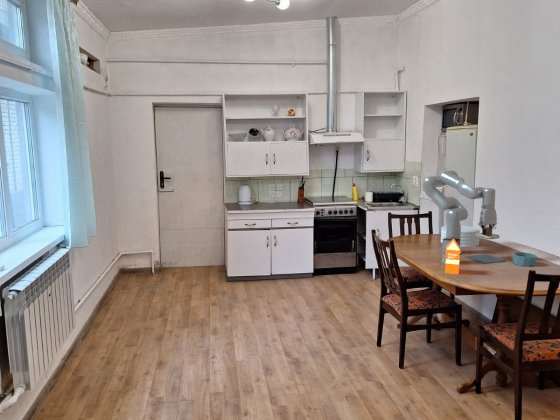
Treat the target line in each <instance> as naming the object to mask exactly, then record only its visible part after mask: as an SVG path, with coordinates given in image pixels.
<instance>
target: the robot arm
mask: <svg viewBox="0 0 560 420" xmlns="http://www.w3.org/2000/svg"><path fill="white" fill-rule="evenodd" d="M446 185H447V186H450V187H451V188H452V189H455V190H457V192H458V193H459V194H460V195H461V196H463V197H466V198H468V199H470V200H477V199H478V200H479V199H481V200H482V201H481V202H482V205H481V206H480V207H481V209H480V214H479V221H478V223H477V225H478V226H480V227H481V228H480V229H481V230H482V231H481V233H482V234H483V235H486V227H487V225H488V227H489V228H492V229H494V227H495V226H496V225H497V224H498V222H497V220H498V219H497V218H498V217H497V209H496V207H495V206H496V205H495V204H496V189H495V188H493V187H492V188H491V187H490V188H489V187H488V188H487V187H483V186H482V187H481V186H479V187H471V186H470V185H467V184H466V183H465V179H464V178H463V177H461V176H459V175H458V172H456V170H444V171H442V172H441V173H440V174H439V175H433V176H432V175H431V176H428V177H426V178H424V180H423V182H422V189H423V191H424V193H425V194H426V195H427V197H428V198H430V200H431V201H432V202H433V203H434V204H435V206H437V207H438V209H439V210H441V211H442V212H445V211H446V214H445V220H446V222H445V223H446V226H447V230H446V238H451V237H454V238H458V239H460V238H461V225H462V224H461V222H462V221H465V220H467V218H468V216H469V212H468V210H467V209H466V207H465V206H464V205H463V204H462V203H461V202H459V200H458V199H457V198H455V197H454V196H446V195H445V194H444V193H442V192H441V190H439V189H437V188H441V187H445V186H446ZM439 250H440V251H442V247H439ZM462 254H463V251H462V250H461V249H460V255H462Z"/></svg>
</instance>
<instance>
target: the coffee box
mask: <svg viewBox="0 0 560 420" xmlns="http://www.w3.org/2000/svg"><path fill="white" fill-rule="evenodd" d="M453 239H454V240H455V241H456V243H457V244H458V246H459V247H460V239H458V238H454V237H451V238H444V239H443V243H442V247H441V248H442V250H441V252H442V253H441V263H444V264H446V247H447V246H448V245H449V243H450V242H451V241H452V240H453ZM460 248H461V247H460Z"/></svg>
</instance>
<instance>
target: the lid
mask: <svg viewBox="0 0 560 420" xmlns="http://www.w3.org/2000/svg"><path fill="white" fill-rule="evenodd" d="M475 237H477V238H479V239H484V240H497V239H500V235H499V234H495V233H493V228H489V226H486V235H483V234H482V232H480V233H477V234H475Z"/></svg>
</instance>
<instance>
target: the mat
mask: <svg viewBox="0 0 560 420" xmlns="http://www.w3.org/2000/svg"><path fill="white" fill-rule="evenodd" d="M464 258H466V259H469V260H470V261H475V262H477V263H480V264H483V265H484V264H495V263H503V262H505V263H506V262H507V260H505V259H502V258H499V257H495V256H493V255H489V254H488V253H487V254H486V253H485V254H477V255H466V256H465V255H464Z"/></svg>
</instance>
